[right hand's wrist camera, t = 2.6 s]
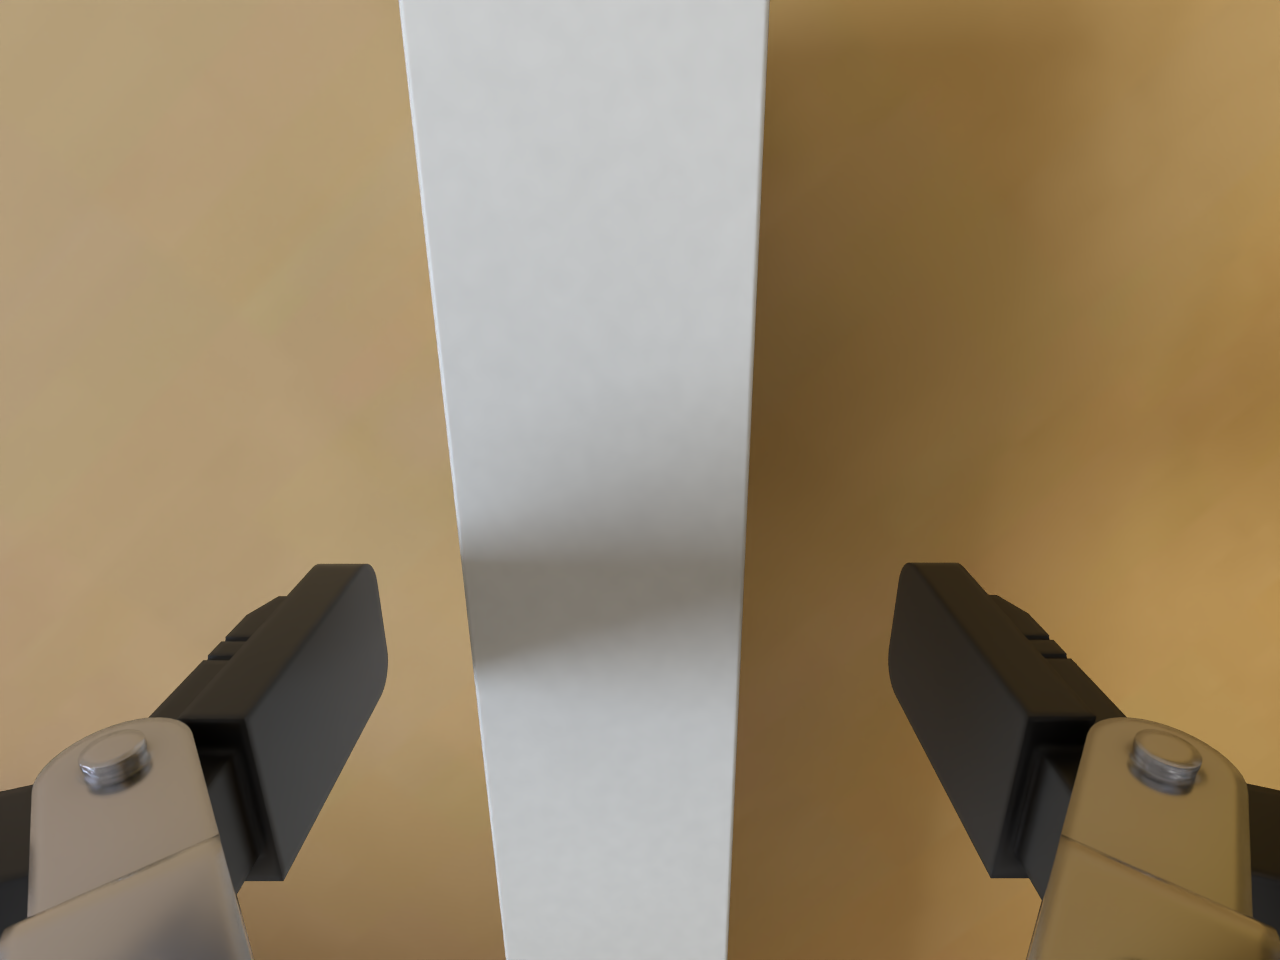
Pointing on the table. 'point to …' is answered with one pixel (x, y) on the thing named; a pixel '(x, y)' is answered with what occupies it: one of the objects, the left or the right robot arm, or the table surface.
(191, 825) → the right robot arm
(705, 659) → the bar
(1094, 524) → the table surface
